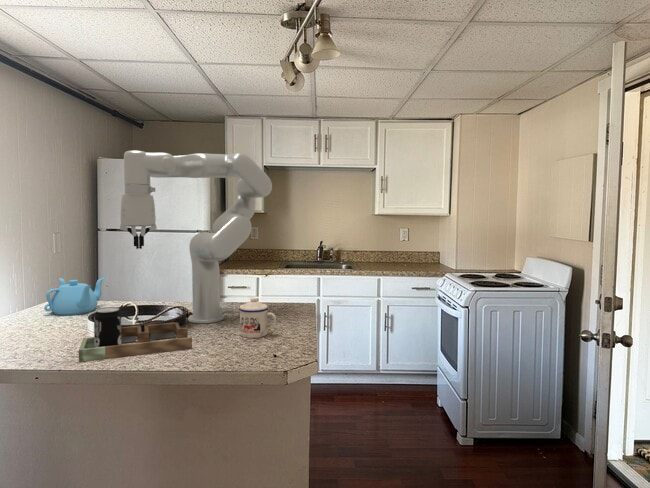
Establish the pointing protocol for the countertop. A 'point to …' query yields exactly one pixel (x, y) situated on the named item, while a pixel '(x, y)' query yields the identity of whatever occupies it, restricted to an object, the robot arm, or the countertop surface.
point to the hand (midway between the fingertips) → (138, 248)
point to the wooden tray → (143, 345)
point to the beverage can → (107, 327)
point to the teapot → (73, 298)
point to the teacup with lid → (254, 319)
